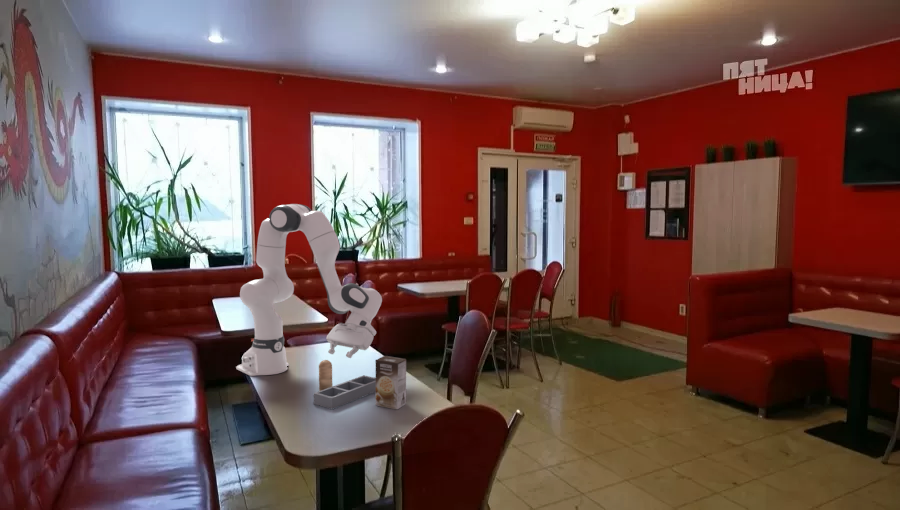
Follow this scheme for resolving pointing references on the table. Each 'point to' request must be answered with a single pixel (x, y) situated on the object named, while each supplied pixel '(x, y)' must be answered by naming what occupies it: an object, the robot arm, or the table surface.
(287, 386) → the table surface
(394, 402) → the coffee box
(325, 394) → the grey compartment tray
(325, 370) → the tan domed cylinder
